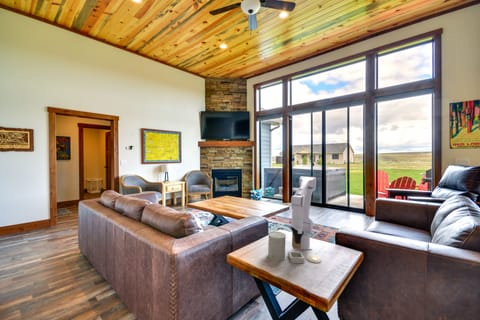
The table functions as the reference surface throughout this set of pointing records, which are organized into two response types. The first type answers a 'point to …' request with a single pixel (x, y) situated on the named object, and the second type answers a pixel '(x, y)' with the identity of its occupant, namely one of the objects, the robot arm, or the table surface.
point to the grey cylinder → (276, 246)
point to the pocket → (296, 257)
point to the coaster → (313, 258)
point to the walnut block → (294, 245)
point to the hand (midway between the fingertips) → (296, 241)
